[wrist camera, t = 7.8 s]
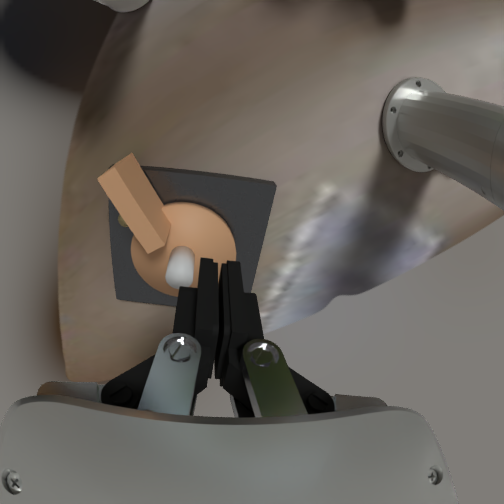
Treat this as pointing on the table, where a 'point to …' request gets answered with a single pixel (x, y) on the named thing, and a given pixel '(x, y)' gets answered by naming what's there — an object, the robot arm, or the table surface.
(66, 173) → the table surface
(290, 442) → the robot arm
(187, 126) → the table surface
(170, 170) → the base plate
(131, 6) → the drinking glass
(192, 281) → the wooden lever dial
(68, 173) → the table surface
